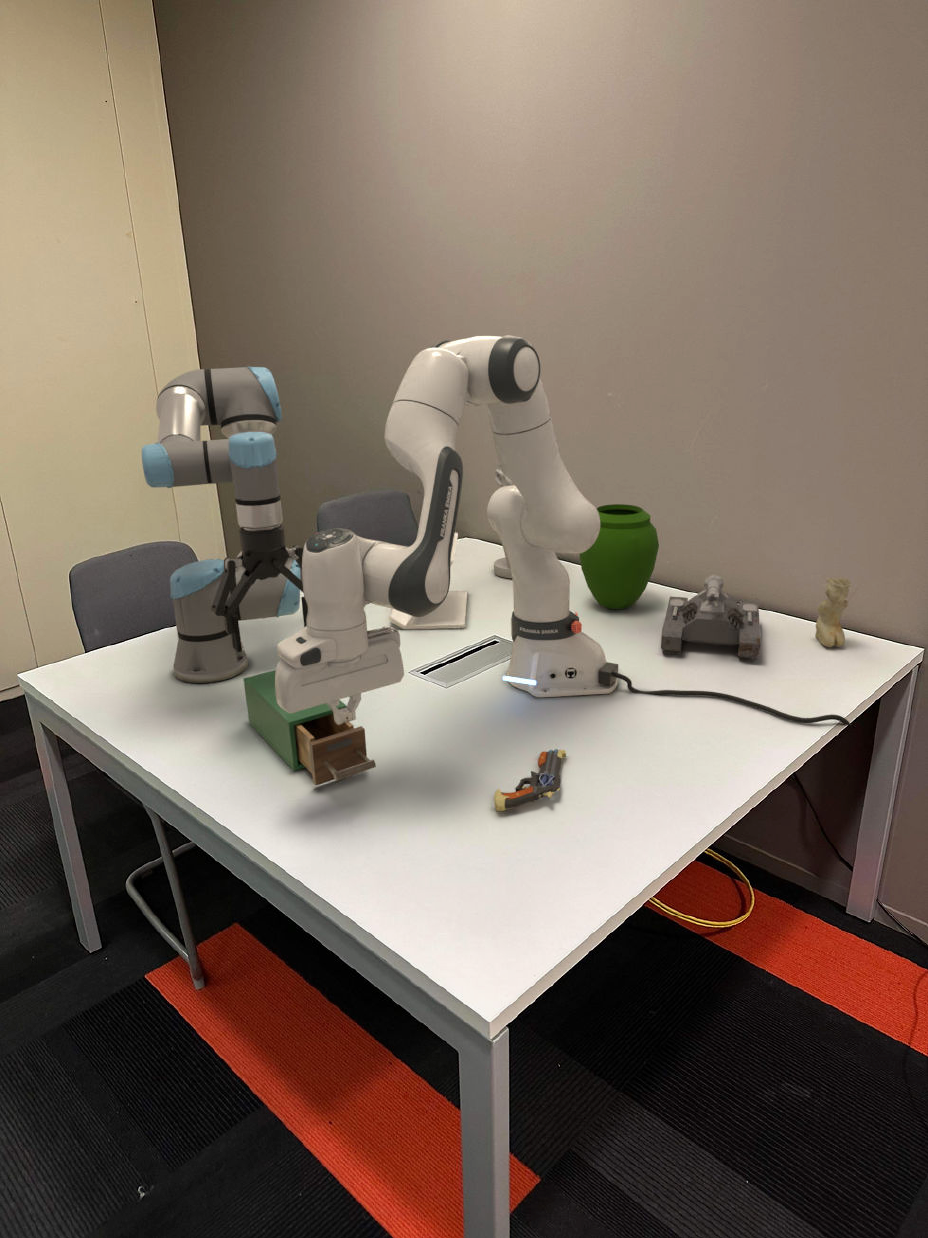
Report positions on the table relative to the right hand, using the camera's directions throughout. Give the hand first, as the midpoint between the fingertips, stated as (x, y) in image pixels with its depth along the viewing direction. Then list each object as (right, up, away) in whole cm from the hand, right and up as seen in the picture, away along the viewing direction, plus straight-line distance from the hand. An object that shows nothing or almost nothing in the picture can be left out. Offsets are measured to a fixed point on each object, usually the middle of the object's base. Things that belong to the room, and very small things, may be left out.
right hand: (345, 721), depth 132 cm
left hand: (-16, +12, +21) cm, 29 cm away
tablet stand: (+10, +18, +82) cm, 84 cm away
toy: (+74, +11, +59) cm, 95 cm away
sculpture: (+98, +10, +55) cm, 113 cm away
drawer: (-5, -8, +12) cm, 16 cm away
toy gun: (+29, -11, +4) cm, 32 cm away
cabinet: (-12, -6, +21) cm, 25 cm away
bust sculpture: (+36, +28, +106) cm, 116 cm away
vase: (+57, +19, +82) cm, 101 cm away
